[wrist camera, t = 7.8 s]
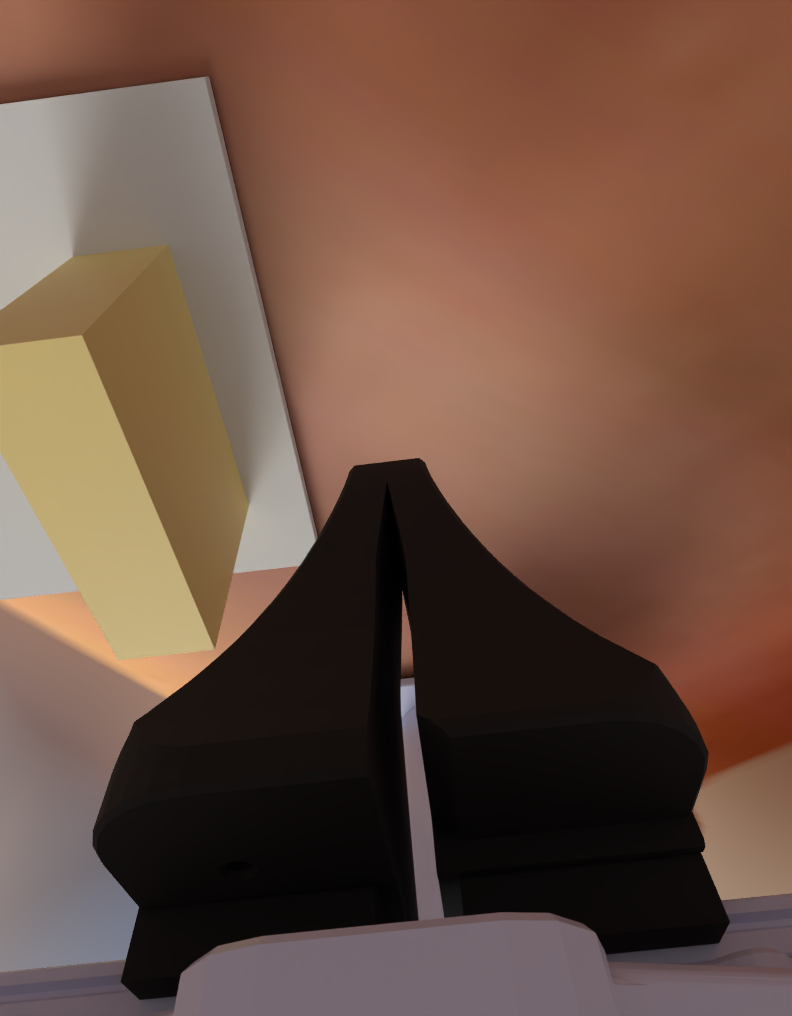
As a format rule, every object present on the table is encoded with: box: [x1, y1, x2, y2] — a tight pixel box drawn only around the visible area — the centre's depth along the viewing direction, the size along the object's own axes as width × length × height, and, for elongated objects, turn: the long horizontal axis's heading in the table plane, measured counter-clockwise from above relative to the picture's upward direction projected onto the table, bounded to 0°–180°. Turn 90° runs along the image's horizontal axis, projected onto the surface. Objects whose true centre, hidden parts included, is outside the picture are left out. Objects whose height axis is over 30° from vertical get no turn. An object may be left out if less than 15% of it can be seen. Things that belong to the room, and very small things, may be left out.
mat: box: [0, 76, 318, 600], centre depth 18 cm, size 14×12×1 cm
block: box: [0, 245, 249, 660], centre depth 15 cm, size 8×2×6 cm, turn 6°
